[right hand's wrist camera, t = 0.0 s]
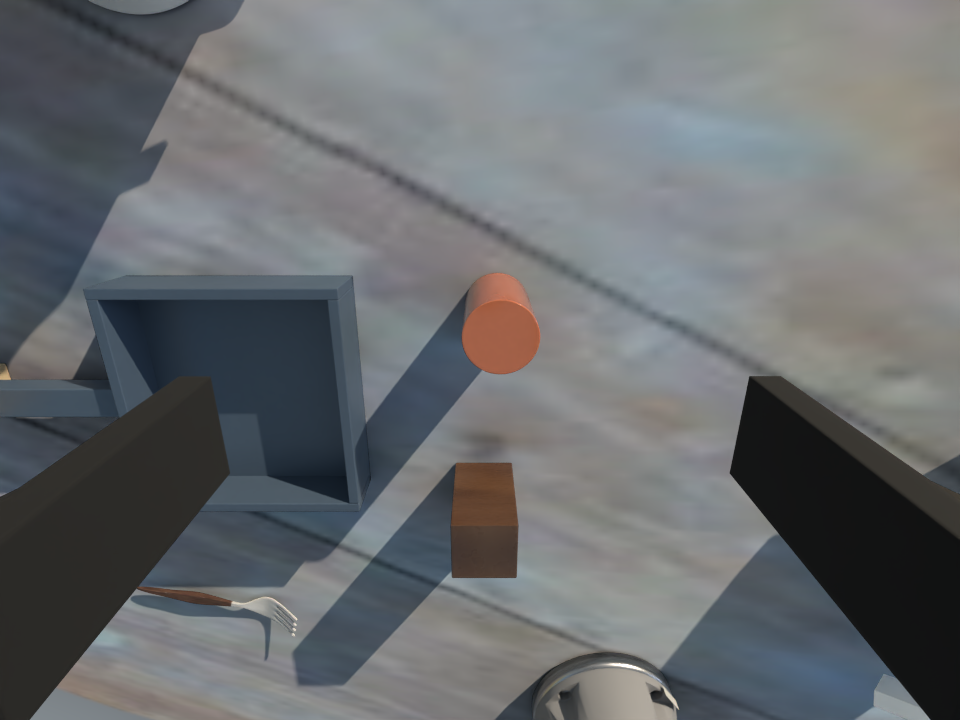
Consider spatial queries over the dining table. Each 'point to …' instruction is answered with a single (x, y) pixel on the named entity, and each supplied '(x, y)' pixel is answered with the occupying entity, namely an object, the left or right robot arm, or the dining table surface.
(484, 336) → the terracotta cylinder
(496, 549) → the walnut block
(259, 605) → the fork
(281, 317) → the tray
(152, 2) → the left robot arm
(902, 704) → the white plastic object
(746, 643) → the dining table surface
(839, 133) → the dining table surface
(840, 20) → the dining table surface
